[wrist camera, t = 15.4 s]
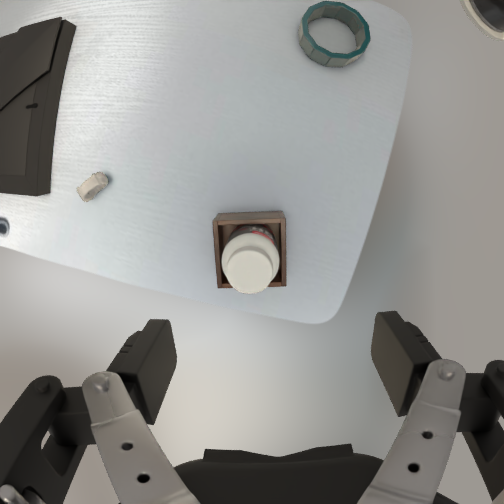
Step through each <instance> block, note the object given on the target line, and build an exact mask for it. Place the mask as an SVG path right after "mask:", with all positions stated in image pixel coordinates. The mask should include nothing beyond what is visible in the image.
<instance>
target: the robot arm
mask: <svg viewBox="0 0 504 504" xmlns="http://www.w3.org/2000/svg"><path fill="white" fill-rule="evenodd" d="M469 1H470V4H471V6H472V8H473V9H474V11H475V13H476V14H477V15H478V17H479V18H480V19H481V20H482V21H483V22H484V23H485V24H486V25H487V26H488V27H489V28H491V29H492V30H494V31H496V32H499V33H504V0H469ZM371 356H372V360H373V363H374V365H375V367H376V369H377V371H378V373H379V376H380V378H381V380H382V382H383V384H384V386H385V389H386V391H387V393H388V395H389V397H390V400H391V402H392V404H393V406H394V409H395V411H396V413H397V415H398V417H401V416H405V415H407V416H406V418H405V420H404V422H403V425H402V427H401V429H400V431H399V433H398V435H397V437H396V439H395V441H394V443H393V445H392V447H391V449H390V450H389V452H388V454H387V456H386V458H385V460H382V459H379V458H376V457H373V456H369V455H365V454H358V453H353V449H352V445H351V444H344V445H336V446H326V447H316V448H312V449H309V450H305V451H302V452H298V453H294V454H290V455H286V456H282V457H274V456H268V455H262V454H257V453H252V452H247V451H242V450H215V449H205V451H204V457H203V459H198V460H193V461H189V462H186V463H183V464H180V465H178V466H176V467H174V468H173V467H172V465H171V463H170V462H169V460H168V459H167V457H166V455H165V454H164V452H163V451H162V449H161V447H160V446H159V444H158V443H157V441H156V439H155V437H154V436H153V434H152V432H151V431H150V429H149V427H148V425H147V424H150V425H154V423H155V421H156V418H157V415H158V413H159V410H160V407H161V405H162V402H163V399H164V397H165V394H166V391H167V389H168V386H169V384H170V381H171V378H172V376H173V373H174V371H175V368H176V363H177V354H176V349H175V344H174V339H173V334H172V328H171V324H170V321H169V320H163V319H162V320H161V319H150V320H149V321H148V323H147V324H146V326H145V327H144V329H143V330H142V331H137V332H136V333H134V334H133V335H131V336H130V337H129V338H128V339H127V340H126V342H125V343H124V345H123V347H122V348H121V350H120V351H119V353H118V354H117V355H116V357H115V358H114V360H113V361H112V363H111V364H110V366H109V367H108V369H107V370H106V371H103V372H98V373H95V374H92V375H90V376H89V377H88V378H86V380H84V382H83V384H82V387H68V388H63V386H62V383H61V381H60V379H58V378H57V377H55V376H50V375H49V376H42V377H39V378H37V379H35V380H33V381H32V382H31V383H30V384H29V385H28V387H27V388H26V389H25V391H24V392H23V393H22V394H21V396H20V397H19V398H18V400H17V401H16V402H15V404H14V405H13V407H12V408H11V409H10V411H9V412H8V414H7V415H6V416H5V417H4V419H3V421H2V422H1V423H0V504H63V501H64V499H65V496H66V494H67V492H68V489H69V487H70V484H71V482H72V480H73V477H74V475H75V472H76V470H77V468H78V466H79V463H80V461H81V459H82V456H83V454H84V452H85V449H86V447H87V445H90V444H97V447H98V450H99V452H100V455H101V458H102V460H103V463H104V466H105V468H106V470H107V473H108V475H109V478H110V480H111V482H112V485H113V487H114V490H115V492H116V494H117V496H118V499H119V501H120V503H119V504H458V503H456V502H454V501H452V500H451V499H449V498H447V497H445V496H443V495H442V494H440V493H438V492H437V489H438V486H439V484H440V481H441V479H442V476H443V473H444V470H445V467H446V464H447V461H448V458H449V455H450V451H451V449H452V445H453V441H454V438H455V435H456V432H462V434H463V436H464V438H465V440H466V442H467V444H468V446H469V449H470V451H471V453H472V455H473V457H474V459H475V462H476V464H477V466H478V468H479V470H480V473H481V475H482V477H483V480H484V482H485V484H486V487H487V489H488V492H489V494H490V496H491V499H492V504H504V430H503V428H502V427H501V425H500V423H499V422H498V419H499V417H500V416H502V417H503V419H504V361H502V360H495V361H491V362H490V363H488V364H487V366H486V369H485V371H484V373H466V371H465V369H464V368H463V366H461V365H460V364H459V363H457V362H455V361H452V360H448V359H442V358H441V357H440V355H439V354H438V353H437V352H436V350H435V349H434V347H433V346H432V345H431V343H430V342H428V340H427V338H426V337H425V336H424V335H423V333H422V332H421V331H420V329H419V328H418V327H416V326H415V325H413V324H411V323H410V322H404V320H403V319H402V318H401V316H400V315H399V314H398V313H397V311H387V312H378V313H377V314H376V318H375V324H374V332H373V339H372V345H371ZM47 431H49V433H50V436H49V438H48V440H47V442H46V444H45V445H44V447H43V449H42V450H41V442H42V439H43V437H44V436H45V434H46V432H47Z"/></svg>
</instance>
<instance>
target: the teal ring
mask: <svg viewBox="0 0 504 504" xmlns="http://www.w3.org/2000/svg"><path fill="white" fill-rule="evenodd" d="M319 17H330V18H336V19H338V20H340V21H341V22H343V23H345V24H347V25H348V26H349V28H350V29H351V30H352V32H353V33H354V35H355V38H356V46H357V48H356V49H355V51H353V52H351V53H349V54H340V53H331V52H329V51H328V50H326V49H324V48H322V47H320V46H318V45H317V44H316V42H315V41H314V40H313V38H312V37H311V36H310V34H309V31H308V23H309V22H310V21H312V20H315V19H317V18H319ZM298 36H299V44H300V46H301V48H302V49H303V50H304V52H305V53H306V54H307V56H308V57H310V59H312V60H314V61H316V62H317V63H319V64H321V65H323V66H326V67H344V66H346V65H348V64H350V63H352V62H354V61H355V60H356V59H357V58H358V57H359V56H360V55H361V54H363V53H364V51H365V49H366V48H367V46H368V44H369V42H370V40H371V39H370V32H369V25H368V24H367V22H366V21H365V20H364V18H363V17H362V16H361V14H360V13H359V12H357V10H355V9H353V8H351V7H350V6H348V5H346V4H344V3H341V2H332V1H323V2H320V3H318V4H315V5H313V6H310V7H309V8H308V10H307V11H306V13H305V14H304V16H303V18H302V20H301V23H300V26H299V29H298Z"/></svg>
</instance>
